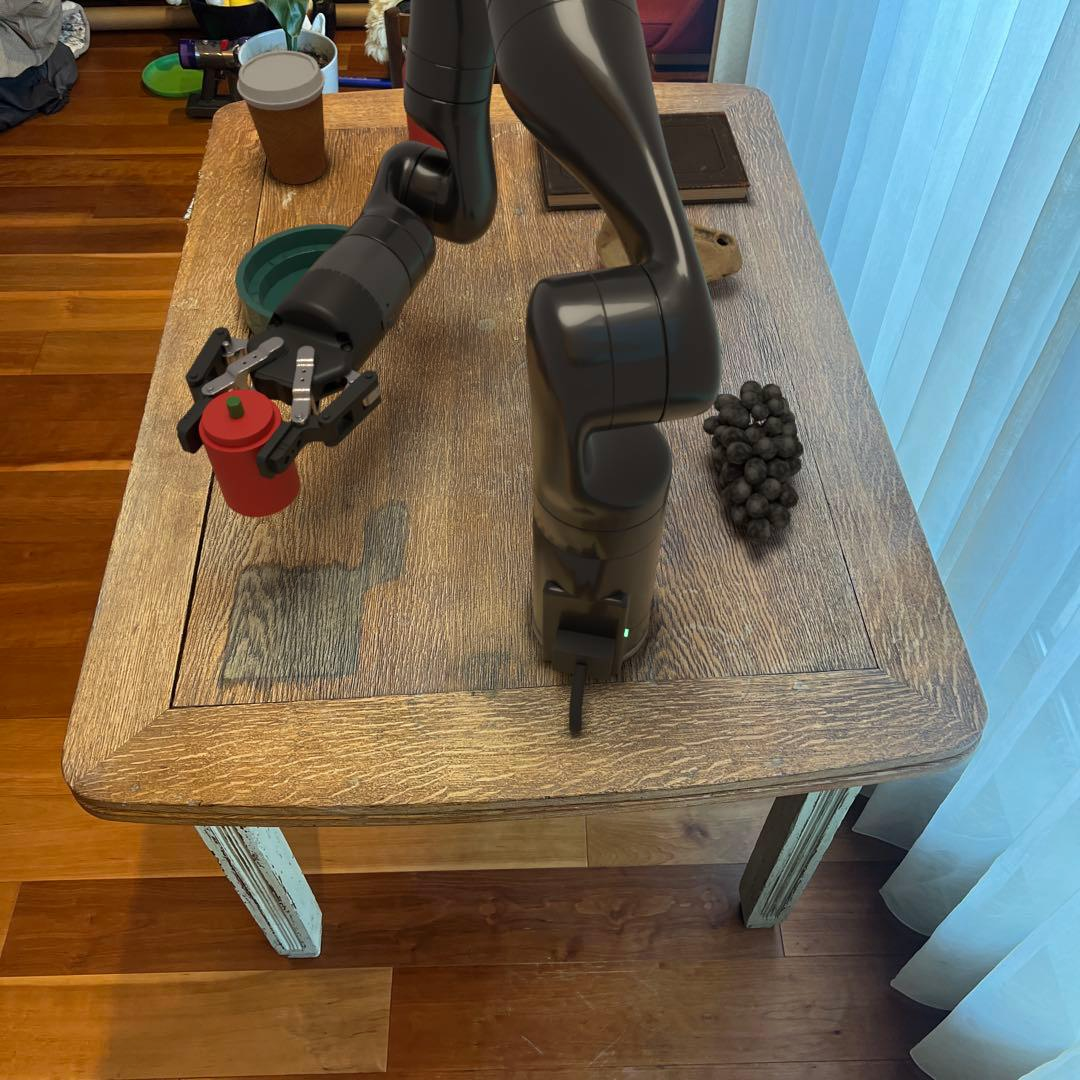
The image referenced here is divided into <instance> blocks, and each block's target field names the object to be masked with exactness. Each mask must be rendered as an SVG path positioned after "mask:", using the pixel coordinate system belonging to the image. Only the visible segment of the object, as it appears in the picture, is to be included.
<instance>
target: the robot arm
mask: <svg viewBox="0 0 1080 1080" xmlns="http://www.w3.org/2000/svg"><path fill="white" fill-rule="evenodd" d="M409 4H410V6H409V7H410V8H409V23H408V34H407V35H408V36H407V37H408V38H407V45H406V51H407V56H406V68H405V81H404V88H403V96H402V97H403V108H404V111H405V115H406V114H407V115H408V117H409V118H410V119H411V120H412V121H413V122H414V123H415V124H416V125H417V126H419V127H420V128H422V129H423V130H425V131H426V132H428V133H429V134H430V135H432V136H433V137H434V138H436V139H437V140H438V141H439V142H440V143H441V144H442V145H443V147H444V149H445V151H444V150H441V149H439V148H436V147H433V146H430V145H427V144H424V143H421V142H418V141H409V140H403V141H401V142H398V143H396V144H394V145H392V146H391V147H389V148H388V149H387V150H385V152H384V153H383V155H382V156H381V158H380V161H379V163H378V166H377V169H376V172H375V175H374V176H375V177H374V180H373V183H372V186H371V189H370V191H369V194H368V196H367V198H366V201H365V203H364V205H363V207H362V209H361V212H360V214H359V216H358V217H357V219H356V220H355V221H354V222H353V223H352V224H351V225H350V226H349V227H350V228H349V229H348V230H347V231H346V233H345V234H344V235H343V236H342V237H341V238H340V240H339V241H338V242H337V243H336V244H335V245H333V246H332V247H331V248H330V249H328V250H327V251H326V252H325V253H324V254H322V255H321V256H320V257H319V258H318V260H317V261H316V262H315V263H314V264H313V265H312V266H311V268H310V269H309V270H308V271H307V272H306V273H305V274H304V276H303V277H302V278H301V279H300V280H299V281H298V283H297V284H296V285H295V286H294V287H293V288H292V290H291V291H290V292H289V293H288V294H287V295H286V296H285V298H284V299H283V300H282V301H281V302H280V303H279V305H278V306H277V307H276V308H275V310H274V312H273V314H272V317H271V319H270V322H269V324H268V326H267V328H266V329H264V330H263V331H261V332H260V333H257V334H253V335H252V336H250V337H249V339H247V338H241V337H240V338H239V337H233V336H231V333H230V331H229V328H227V327H225V326H219V327H216V328H215V329H213V330H212V332H211V333H210V335H209V337H208V338H207V340H206V342H205V343H204V345H203V347H202V348H201V350H200V351H199V353H198V355H197V356H196V358H195V359H194V361H193V363H192V364H191V366H190V368H189V369H188V371H187V373H186V374H185V378H184V379H185V381H186V384H187V386H188V389H189V392H190V394H191V396H192V400H193V402H194V404H192V406H191V407H190V408H189V409H188V410H187V411H186V413H185V414H184V415H183V416H182V417H181V419H179V420H178V421H177V425H176V427H175V429H176V432H177V433H176V436H177V439H178V441H179V444H180V446H181V448H182V449H181V450H182V451H183V452H186V453H189V454H192V455H195V454H197V453H198V451H199V450H200V449H201V448H202V447H203V446H204V445H203V442H202V440H201V437H200V434H199V423H200V420H201V418H202V414H203V411H204V409H205V408H206V406H207V405H208V404H209V403H210V402H211V401H212V400H213V399H215V398H216V397H218V396H219V395H221V394H224V393H226V392H229V391H233V390H241V389H246V390H253V391H257V392H260V393H262V394H263V395H265V396H266V397H267V398H268V399H270V400H271V401H280V402H281V403H283V404H285V405H287V406H288V407H291V409H290V414H289V415H290V416H289V418H290V421H285V420H283V422H282V423H281V424H280V426H279V427H278V428H277V429H276V431H275V432H274V433H273V435H272V436H271V437H270V438H269V440H268V441H267V442H266V444H265V445H264V446H263V447H262V449H261V450H260V451H259V453H258V454H257V456H256V464H257V467H258V470H259V473H260V476H261V477H264V478H267V479H273V478H274V477H275V475H276V474H281V473H283V472H284V471H286V470H287V469H288V467H289V466H290V464H291V463H292V462H293V460H296V458H297V457H298V456H299V454H300V453H301V451H302V450H303V448H305V447H308V446H310V445H312V444H313V443H323V445H324V446H325V447H327V448H334V447H337V446H338V445H340V444H341V443H342V442H343V441H344V440H345V439H346V438H347V437H348V436H349V435H350V434H352V432H353V431H354V430H355V429H356V428H357V427H358V426H359V425H361V423H362V422H363V421H364V420H365V419H366V418H367V417H368V416H369V415H370V414H372V412H373V411H375V409H376V408H377V407H378V406H379V405H380V404H382V401H383V399H382V394H381V393H382V392H381V386H380V380H379V375H378V373H377V372H376V371H375V370H372V369H371V370H370V369H369V370H364V371H363V372H362V373H360V370H361V369H362V368H363V366H364V365H365V363H366V362H367V360H368V359H369V358H370V357H371V355H372V354H373V353H374V351H375V350H376V349H377V348H378V346H379V344H380V343H381V342H382V341H383V339H385V336H386V335H387V334H388V332H389V331H390V330H391V329H392V328H393V327H394V324H395V323H396V322H397V320H398V319H399V317H400V315H401V313H402V311H403V309H404V306H405V305H406V304H407V302H408V301H409V299H410V298H411V296H412V295H413V294H414V292H415V291H416V290H417V289H418V287H419V285H420V284H421V283H422V282H423V280H424V279H425V278H426V276H427V275H428V273H429V272H430V271H431V268H432V267H433V265H434V263H435V261H436V257H437V243H436V242H437V241H436V238H438V239H440V240H443V241H446V242H449V243H451V244H455V245H460V246H467V245H468V246H469V245H471V244H474V243H476V242H478V241H479V240H481V239H482V238H483V237H484V235H485V234H486V233H488V231H489V229H490V228H491V226H492V224H493V221H494V219H495V216H496V212H497V209H498V196H499V194H498V178H497V176H498V175H497V171H496V169H497V168H496V162H495V156H494V147H493V137H492V125H491V101H492V96H493V95H492V93H493V87H494V79H495V72H496V73H497V79H498V83H499V86H500V89H501V92H502V95H503V97H504V99H505V101H506V102H507V104H508V106H509V109H510V110H511V111H512V113H514V115H515V116H516V118H517V119H518V120H519V122H520V123H521V124H522V125H523V126H524V128H525V129H526V130H527V131H528V132H529V134H531V136H532V137H533V138H534V140H536V142H537V141H538V142H539V143H540V144H541V145H542V146H543V147H544V148H545V149H546V150H547V151H548V152H549V153H550V154H551V155H552V156H553V157H554V158H555V159H556V160H557V161H558V162H559V163H560V164H561V165H562V166H563V167H564V168H565V169H566V170H567V171H569V172H570V173H571V174H572V175H573V176H574V177H575V178H576V179H577V180H578V181H579V182H580V183H581V184H582V185H583V187H584V188H585V189H586V190H587V191H588V192H589V193H590V194H591V195H592V197H593V198H594V199H595V200H596V202H597V203H598V204H599V205H600V207H601V208H600V209H601V210H602V211H603V213H604V214H605V215H606V216H607V217H608V219H609V221H610V222H611V224H612V226H613V227H614V229H615V231H616V233H617V235H618V237H619V239H620V242H621V244H622V246H623V248H624V251H625V253H626V256H627V258H628V261H629V263H630V265H626V266H618V267H610V268H604V267H603V268H596V269H589V270H581V271H573V272H572V271H571V272H566V273H559V274H552V275H549V276H546V277H543V278H541V279H540V280H538V282H536V284H535V285H534V287H533V288H532V290H531V293H530V295H529V296H528V300H527V301H528V302H527V305H526V310H525V324H524V333H525V353H526V363H527V375H528V385H529V397H530V399H529V401H530V419H531V420H530V421H531V424H530V425H531V426H530V427H531V455H532V508H531V509H532V512H531V513H532V607H531V608H532V609H531V622H532V623H531V624H532V629H533V632H534V635H535V638H536V639H537V641H538V642H539V644H540V645H541V660H543V661H545V662H549V663H550V662H551V670H552V671H555V672H561V673H566V674H572V681H571V689H570V699H569V707H568V708H569V709H568V730H569V732H571V733H575V734H577V733H580V732H582V730H583V729H582V728H583V703H584V695H585V694H584V693H585V687H586V679H587V678H592V679H597V680H603V681H610V678H611V674H615V675H617V674H620V672H621V668H622V664H623V663H624V662H626V661H627V660H628V659H630V658H631V657H632V656H634V655H635V654H636V653H637V652H638V651H639V649H640V648H642V645H643V644H644V643H645V640H646V638H647V636H648V633H649V630H650V629H649V628H650V620H651V608H652V601H653V594H654V588H655V583H656V582H655V581H656V575H657V570H658V563H659V557H660V550H661V543H662V539H663V532H664V525H665V519H666V515H667V508H668V502H669V495H670V489H671V482H672V477H673V469H674V467H673V465H674V463H673V455H672V451H671V447H670V444H669V441H668V440H667V438H666V436H665V434H664V433H663V432H662V430H661V429H660V428H659V427H658V426H657V425H656V424H659V423H660V424H661V423H667V422H672V421H679V420H685V419H690V418H694V417H697V416H700V415H703V414H704V413H707V412H708V410H710V409H711V408H712V407H713V406H714V402H715V401H716V398H717V396H718V394H720V388H721V383H722V374H723V362H722V346H721V345H722V344H721V339H720V332H719V328H718V327H719V326H718V320H717V316H716V311H715V307H714V303H713V300H712V299H713V298H712V296H711V293H710V292H711V291H710V289H709V285H708V282H706V278H705V275H704V271H703V268H702V265H701V261H700V258H699V255H698V252H697V248H696V245H695V242H694V239H693V236H692V232H691V229H690V226H689V223H688V220H689V219H688V217H687V214H686V210H685V207H684V205H683V204H682V200H681V197H680V194H679V191H678V187H677V184H676V181H675V177H674V174H673V171H672V168H671V164H670V160H669V156H668V153H667V149H666V145H665V140H664V136H663V132H662V128H661V123H660V118H659V114H660V113H659V110H658V104H657V99H656V94H655V90H654V84H653V79H652V74H651V70H650V65H649V59H648V58H649V57H648V52H647V47H646V42H645V41H646V40H645V35H644V29H643V26H642V21H641V17H640V12H639V8H638V4H637V0H410V3H409ZM687 219H688V220H687ZM435 237H436V238H435ZM248 376H249V378H250V381H251V384H252V386H249V383H248V379H247V378H248ZM340 392H341V393H340ZM338 393H339V394H338ZM335 394H338V395H337V396H336V397H335V398H334V399H333V400H332V401H331V402H329V404H327V406H326V407H324V409H323V410H322V411H321V407H322V401H323V400H324V399H325V398H328V397H331V396H333V395H335Z"/></svg>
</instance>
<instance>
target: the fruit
mask: <svg viewBox="0 0 1080 1080" xmlns="http://www.w3.org/2000/svg"><path fill="white" fill-rule="evenodd" d="M713 408H714V410H715V411H716V412H718V414H717V415H711V416H709V417H707V418H705V419H703V424H702V430H703V431H704V433H705V434H706V435H709V436H712V437H711V441H710V442H711V443H710V444H711V447H712V449H713V452H712V460H713V462H714V463H715V469H716V470H717V471H718V472H719V479H718V482H719V484H720V485H721V487H723V488H724V489H723V490H722V491H721V493H720V494H719V496H720V501H721V503H722V505H724V507H726V508H729V509H730V508H731V509H732V510H731V512H730V517H731V519H732V521H733V523H734V524H736V525H739V526H741V527H742V526H744V527H746V528H747V531H746V537H747V538H748V541H749V542H750V543H752V544H755V545H761V544H765V543H766V542H767V541H768V539H769V538H770V536H771V534H772V532H773V528H775V529H778V530H779V529H781V530H782V529H784V528H786V527H787V526H788V525H789V524H790V522H791V519H792V517H791V516H792V514H791V511H790V510H789V509H792V508H795V507H797V504H798V503H799V499H800V496H799V494H798V492H797V490H796V489H795V488H794V487H793V486H792V479H791V477H793V476H795V475H797V474H798V473H799V472H801V470H802V467H803V465H802V460H801V459H800V457H801V456H802V455H803V454H804V449H805V448H804V445H803V443H802V442H801V441H800V438H799V436H798V427H797V423H796V415H795V414H794V411H793V412H792V411H791V410H790V402H789V401H788V399H787V398H786V397H784V396H783V392H782V390H781V387H780V386H779V385H777V384H775V383H774V382H772V383H767V384H765V385H764V386H762V385H761V384H760V383H759V382H758V381H756V380H747V381H745V382H743V383H742V384H741V386H740V389H739V397H737V396H736V395H734V394H732V393H718V396H717V398H716V401H715V402H714V404H713ZM751 418H752V419H751ZM751 422H752V423H751ZM759 422H761V423H759ZM772 527H773V528H772Z"/></svg>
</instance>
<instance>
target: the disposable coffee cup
mask: <svg viewBox="0 0 1080 1080" xmlns="http://www.w3.org/2000/svg"><path fill="white" fill-rule="evenodd" d="M238 70H239V71H238V79H237V83H236V89H237V91H238V93H239V95H240V96H241V97H242V99H243V100H244V102H245V103H246V106H247V109H248V112H249V114H250V117H251V119H252V122H253V125H254V127H255V130H256V133H257V135H258V138H259V141H260V143H261V146H262V149H263V151H264V154H265V157H266V160H267V162H268V165H269V167H270V170H271V173H272V176H273V178H275V179H276V180H278V181H279V182H282V183H285V184H289V185H301V184H306V183H310V182H313V181H316V180H317V179H319V178H321V176H322V175H323V174H324V173H325V172H326V169H327V162H326V161H327V160H326V141H325V121H324V100H323V99H324V97H323V91H324V86H325V82H326V76H325V73H324V71H323V70H322V69H321V68H320V66H319V64H318V62H317V61H316V59H314V58H313V57H312V56H311V55H308V54H306V53H304V52H301V51H294V50H274V51H268V52H265V53H260V54H257V55H255V56H253V57H251V58H250V59H247V60H246V61H245V62H244V63H243V64H242V65H241V66H240V69H238Z"/></svg>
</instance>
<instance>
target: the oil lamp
mask: <svg viewBox="0 0 1080 1080" xmlns="http://www.w3.org/2000/svg"><path fill="white" fill-rule="evenodd" d="M687 220H688V223H689V226H690V229H691V232H692V236H693V239H694V242H695V245H696V248H697V252H698V255H699V258H700V261H701V265H702V268H703V271H704V275H705V278H706V282H707V283H710V282H713V281H718V280H722V279H724V278H727V277H730V276H732V275H735V274H737V273H739V272H740V270H742V266H743V264H744V263H743V256H742V253H741V250H740V248H739V244H738V241H737V239H736V237H735V236H734V235H732V234H730V233H728V232H726V231H723V230H721V229H714V228H709V227H706V226H704V225H702V224H701V223H698V222H695V221H692V220H690V219H689V218H687ZM596 235H597V236H596V238H595V252H596V254H597V255H598V256H599V258H600V261H601V263H602V266H603V268H610V267H618V266H626V265H630V263H629V261H628V258H627V256H626V253H625V251H624V248H623V246H622V244H621V242H620V239H619V237H618V235H617V233H616V231H615V229H614V227H613V226H612V224H611V222H610V221H609V219H608V217H607V216H606V214H605V215H604V217H603V221H602V225H601V227H600V230H599V231H598V233H597V234H596Z"/></svg>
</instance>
